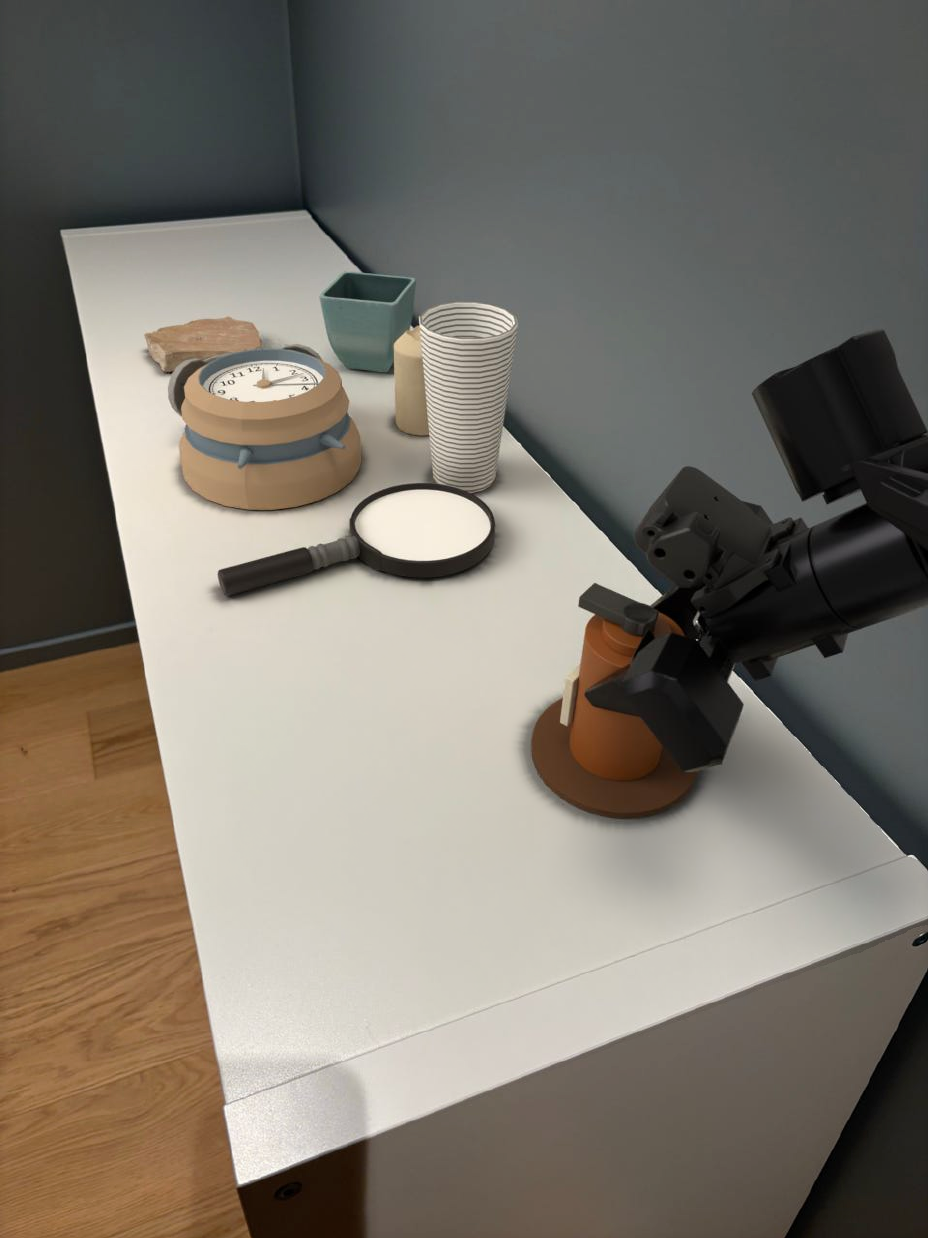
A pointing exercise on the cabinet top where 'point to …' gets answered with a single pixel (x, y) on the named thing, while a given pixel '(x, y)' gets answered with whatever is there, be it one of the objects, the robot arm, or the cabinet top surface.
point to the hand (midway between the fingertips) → (607, 667)
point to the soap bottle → (608, 646)
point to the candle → (410, 384)
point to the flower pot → (367, 317)
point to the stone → (201, 340)
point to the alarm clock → (264, 428)
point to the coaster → (597, 792)
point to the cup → (466, 388)
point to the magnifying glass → (389, 538)
